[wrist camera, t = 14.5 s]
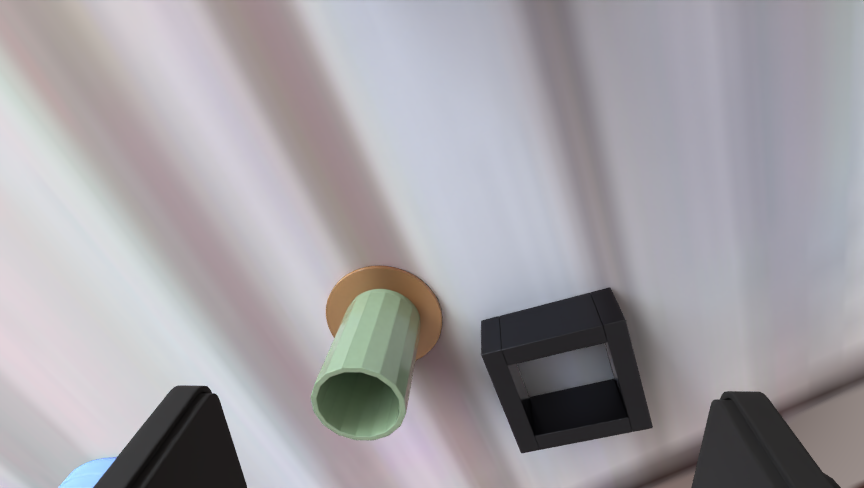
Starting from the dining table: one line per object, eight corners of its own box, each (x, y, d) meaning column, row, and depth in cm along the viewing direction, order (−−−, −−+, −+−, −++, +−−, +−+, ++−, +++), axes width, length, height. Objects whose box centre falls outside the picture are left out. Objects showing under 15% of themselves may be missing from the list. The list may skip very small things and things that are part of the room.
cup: (351, 351, 44) (319, 439, 35) (341, 288, 41) (303, 367, 32) (423, 351, 43) (409, 441, 34) (418, 288, 41) (400, 367, 32)
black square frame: (517, 413, 46) (521, 453, 42) (480, 320, 42) (481, 354, 38) (636, 388, 44) (653, 428, 40) (610, 286, 40) (625, 319, 35)
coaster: (336, 363, 45) (334, 366, 45) (318, 266, 41) (317, 268, 41) (445, 363, 44) (444, 366, 44) (439, 264, 40) (438, 266, 40)
